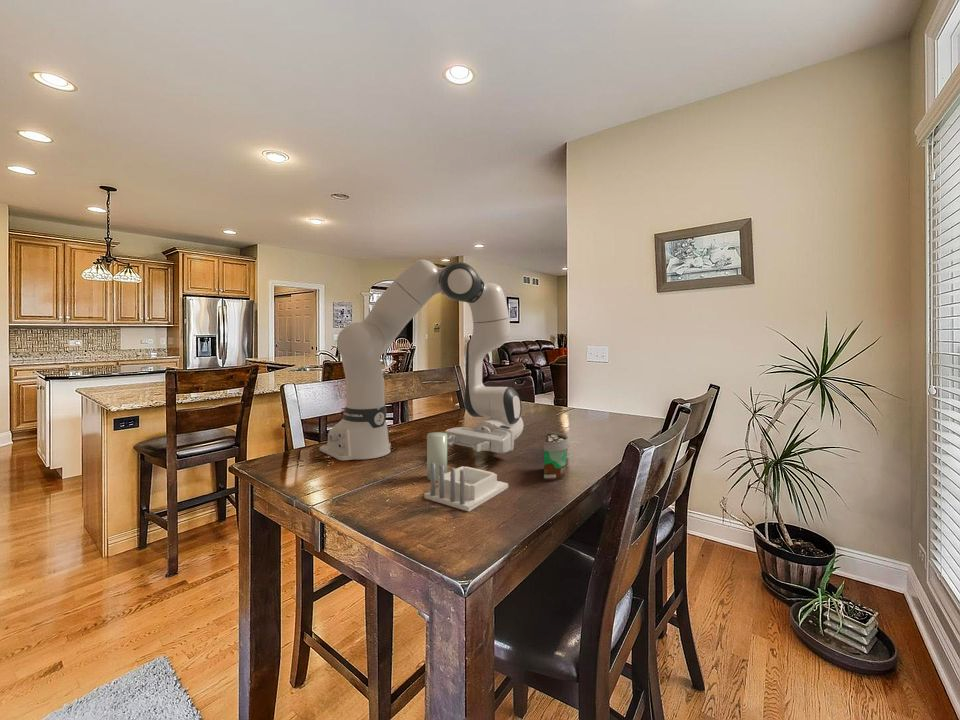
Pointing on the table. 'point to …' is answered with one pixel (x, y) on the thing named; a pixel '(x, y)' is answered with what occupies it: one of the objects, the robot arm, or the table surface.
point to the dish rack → (464, 487)
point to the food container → (555, 455)
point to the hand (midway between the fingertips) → (460, 445)
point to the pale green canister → (436, 452)
